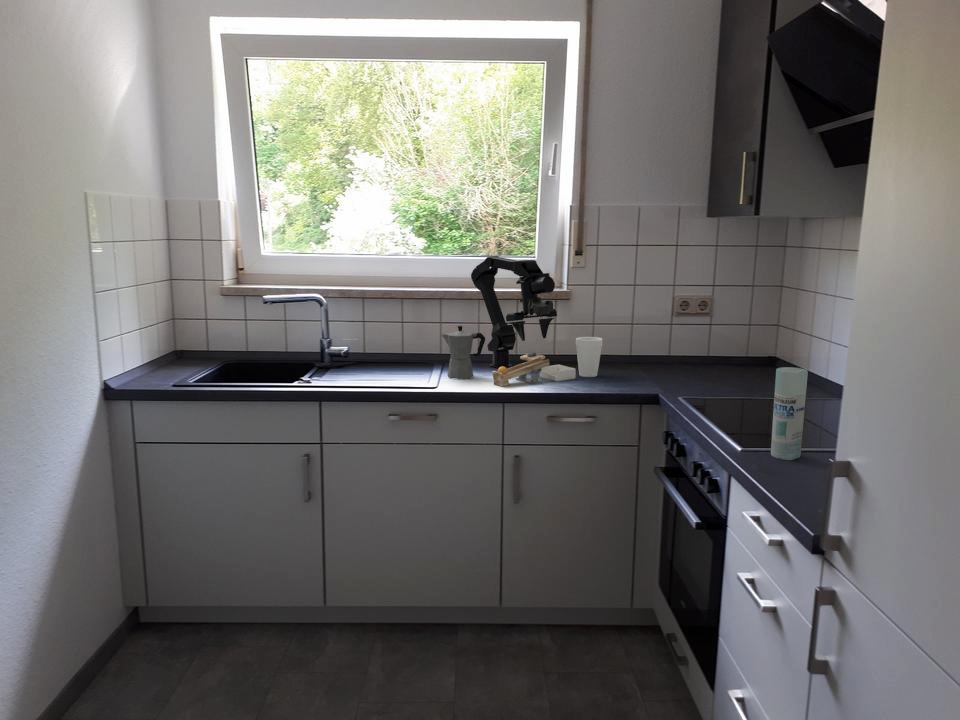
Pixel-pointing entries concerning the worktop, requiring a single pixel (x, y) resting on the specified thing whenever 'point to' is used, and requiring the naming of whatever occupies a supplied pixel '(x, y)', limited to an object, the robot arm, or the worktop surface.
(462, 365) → the coffeepot
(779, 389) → the spray paint can
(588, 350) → the foam cup
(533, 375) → the fulcrum
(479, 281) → the robot arm
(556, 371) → the dish
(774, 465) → the worktop surface
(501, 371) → the ball
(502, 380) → the lever
